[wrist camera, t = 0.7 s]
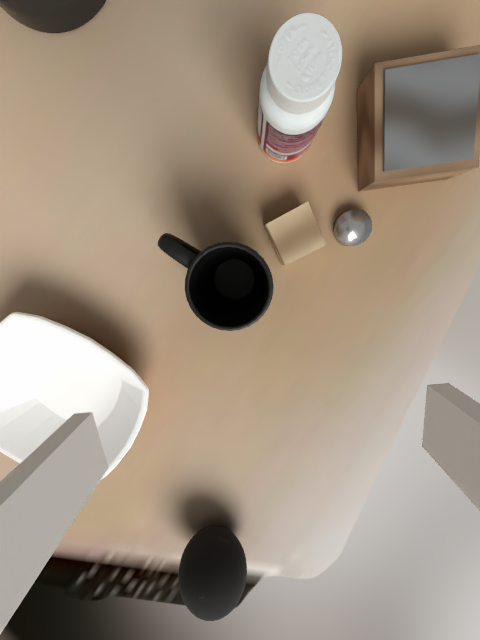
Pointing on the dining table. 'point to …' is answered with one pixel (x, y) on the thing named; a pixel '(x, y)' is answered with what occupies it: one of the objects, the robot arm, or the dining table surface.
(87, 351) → the bowl
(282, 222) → the oak offcut
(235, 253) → the mug
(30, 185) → the dining table surface
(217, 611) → the speaker
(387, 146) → the walnut stand
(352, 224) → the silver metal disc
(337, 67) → the pill bottle
